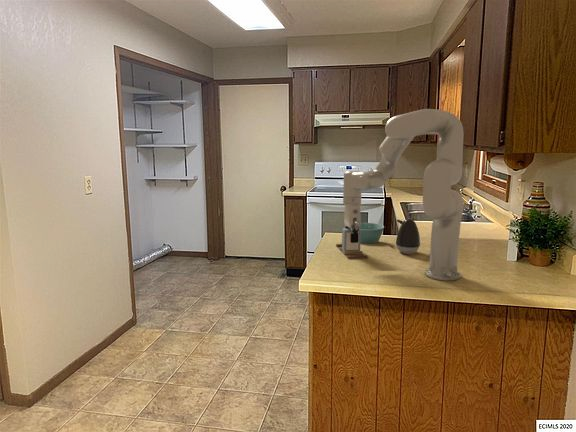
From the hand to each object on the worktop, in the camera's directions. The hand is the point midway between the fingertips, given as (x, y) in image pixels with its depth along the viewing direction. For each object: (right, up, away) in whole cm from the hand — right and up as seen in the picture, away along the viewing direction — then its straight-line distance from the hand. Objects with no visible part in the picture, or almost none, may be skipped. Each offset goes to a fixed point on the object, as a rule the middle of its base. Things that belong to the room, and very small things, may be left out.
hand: (351, 239), depth 179 cm
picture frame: (0, -5, +1) cm, 5 cm away
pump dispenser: (+26, -6, +5) cm, 27 cm away
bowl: (+11, -3, +23) cm, 26 cm away
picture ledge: (0, -7, +1) cm, 7 cm away
